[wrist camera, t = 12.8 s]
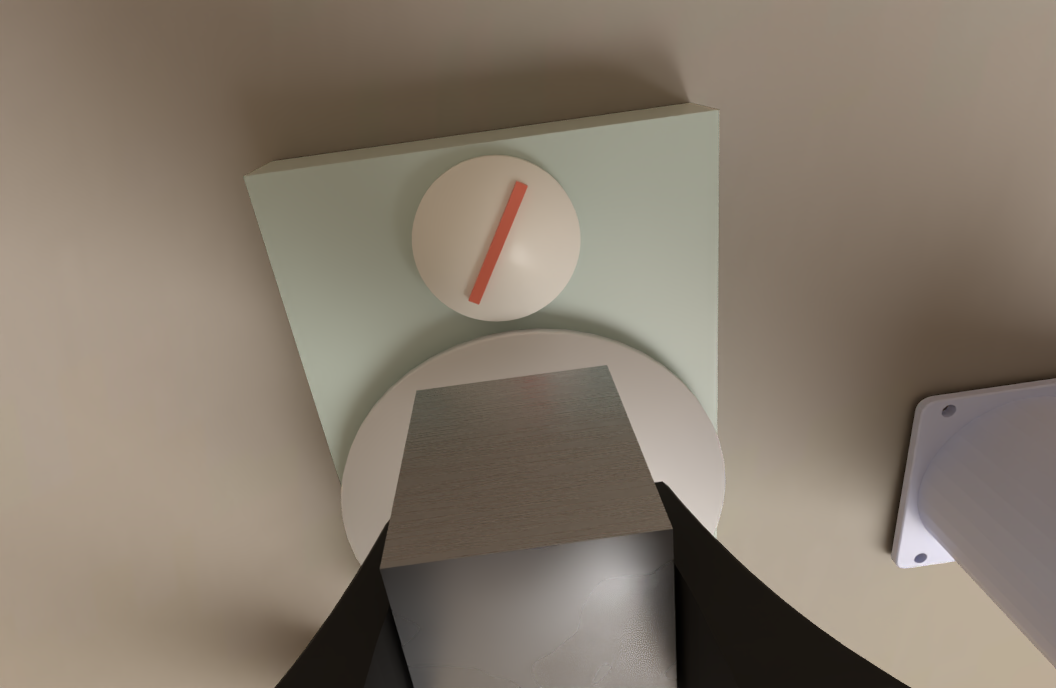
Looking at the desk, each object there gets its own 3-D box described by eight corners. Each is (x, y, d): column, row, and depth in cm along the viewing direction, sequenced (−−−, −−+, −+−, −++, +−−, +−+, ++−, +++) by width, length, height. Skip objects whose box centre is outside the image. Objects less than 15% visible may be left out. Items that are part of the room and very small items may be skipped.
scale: (690, 102, 18) (730, 112, 15) (695, 551, 25) (723, 616, 22) (272, 161, 18) (231, 182, 15) (399, 595, 25) (388, 666, 22)
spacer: (607, 365, 13) (673, 529, 8) (617, 515, 15) (678, 720, 10) (416, 390, 13) (379, 569, 8) (449, 538, 15) (433, 754, 10)
